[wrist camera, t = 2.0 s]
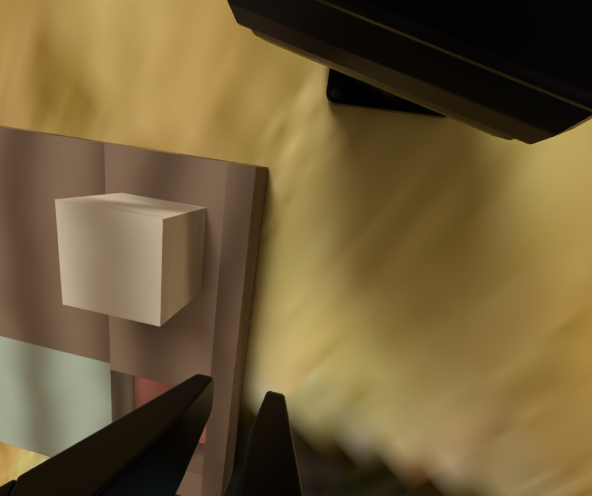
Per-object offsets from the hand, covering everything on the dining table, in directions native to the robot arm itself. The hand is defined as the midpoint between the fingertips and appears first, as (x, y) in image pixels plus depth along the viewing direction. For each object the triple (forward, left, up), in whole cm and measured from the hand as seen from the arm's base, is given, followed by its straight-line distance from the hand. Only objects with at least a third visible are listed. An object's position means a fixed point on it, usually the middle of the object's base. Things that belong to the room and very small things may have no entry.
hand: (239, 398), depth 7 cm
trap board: (+17, +7, -12) cm, 22 cm away
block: (+8, 0, -10) cm, 12 cm away
